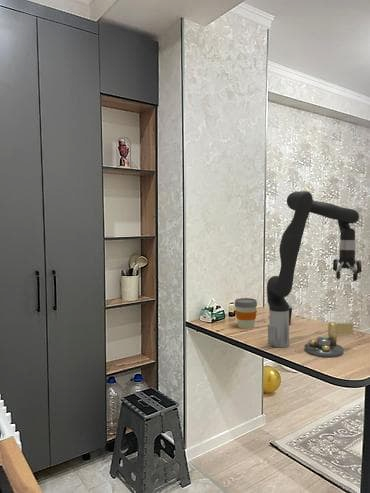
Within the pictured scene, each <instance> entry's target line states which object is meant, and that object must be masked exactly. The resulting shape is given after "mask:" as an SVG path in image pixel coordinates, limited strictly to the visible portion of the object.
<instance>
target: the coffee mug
mask: <svg viewBox="0 0 370 493" xmlns="http://www.w3.org/2000/svg"><path fill="white" fill-rule="evenodd" d="M292 314H293V306H292V305H289V326H290V325H291V322H292Z"/></svg>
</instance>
